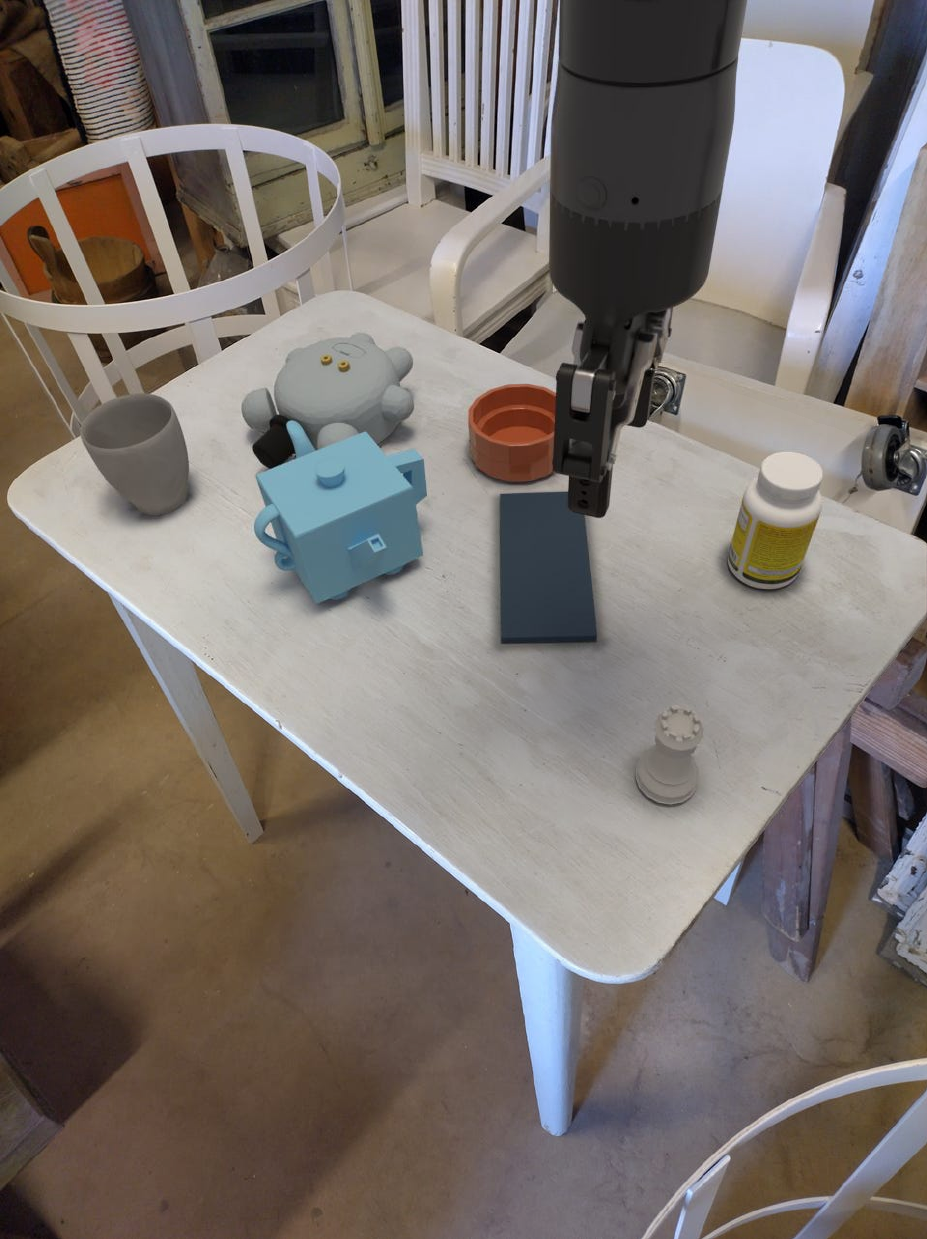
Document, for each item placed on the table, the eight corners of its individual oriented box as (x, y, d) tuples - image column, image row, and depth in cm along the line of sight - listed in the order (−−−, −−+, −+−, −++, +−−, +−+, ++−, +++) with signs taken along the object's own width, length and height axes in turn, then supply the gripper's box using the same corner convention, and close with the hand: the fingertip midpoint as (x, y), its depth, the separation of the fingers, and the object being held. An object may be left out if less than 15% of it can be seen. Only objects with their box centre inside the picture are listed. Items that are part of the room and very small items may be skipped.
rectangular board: (500, 499, 80) (500, 493, 80) (581, 496, 80) (582, 490, 79) (501, 643, 69) (501, 637, 68) (596, 641, 68) (597, 635, 68)
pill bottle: (813, 570, 72) (851, 473, 63) (764, 603, 70) (796, 507, 61) (760, 531, 75) (789, 435, 67) (711, 561, 73) (734, 465, 65)
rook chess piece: (659, 742, 62) (673, 681, 56) (709, 778, 60) (729, 719, 54) (622, 780, 60) (632, 722, 54) (672, 819, 58) (688, 763, 52)
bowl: (564, 421, 88) (566, 381, 84) (570, 483, 81) (572, 443, 77) (471, 425, 88) (469, 385, 84) (470, 486, 82) (467, 447, 78)
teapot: (313, 654, 69) (281, 563, 61) (240, 531, 80) (205, 438, 71) (472, 579, 74) (464, 484, 65) (384, 471, 84) (367, 377, 76)
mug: (222, 491, 84) (192, 414, 76) (151, 539, 80) (112, 462, 72) (155, 447, 89) (121, 370, 82) (86, 490, 85) (43, 413, 78)
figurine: (340, 356, 97) (222, 461, 90) (321, 293, 91) (191, 401, 83) (455, 402, 90) (338, 521, 82) (444, 337, 83) (314, 460, 75)
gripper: (682, 265, 31) (640, 562, 43) (754, 120, 39) (700, 406, 51) (497, 240, 33) (507, 530, 45) (601, 108, 41) (585, 385, 53)
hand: (609, 464), depth 48 cm, fingers open, 8 cm apart
